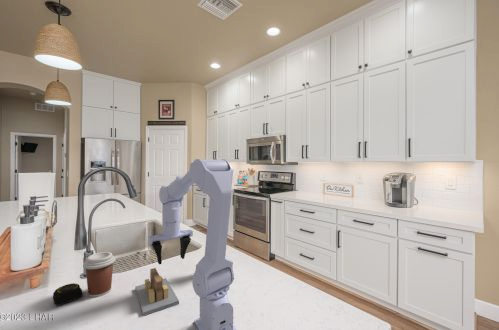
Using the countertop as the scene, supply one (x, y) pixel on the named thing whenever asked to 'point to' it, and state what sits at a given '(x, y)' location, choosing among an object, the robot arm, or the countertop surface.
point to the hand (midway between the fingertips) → (171, 260)
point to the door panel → (156, 284)
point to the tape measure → (67, 293)
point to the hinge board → (148, 299)
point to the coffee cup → (99, 273)
